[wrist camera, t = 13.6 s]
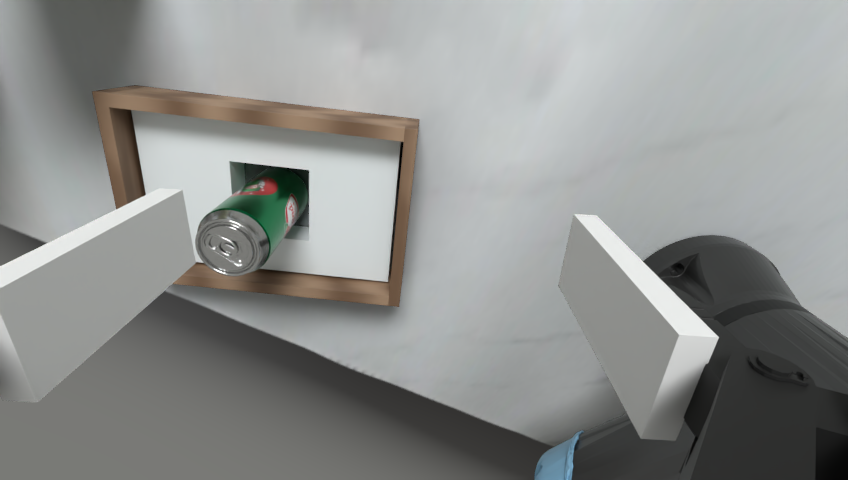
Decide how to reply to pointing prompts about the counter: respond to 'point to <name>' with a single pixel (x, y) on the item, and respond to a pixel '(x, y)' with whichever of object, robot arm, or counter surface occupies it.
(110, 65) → the counter surface
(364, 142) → the socket plate
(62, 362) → the robot arm
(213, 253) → the soda can
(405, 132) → the open box
